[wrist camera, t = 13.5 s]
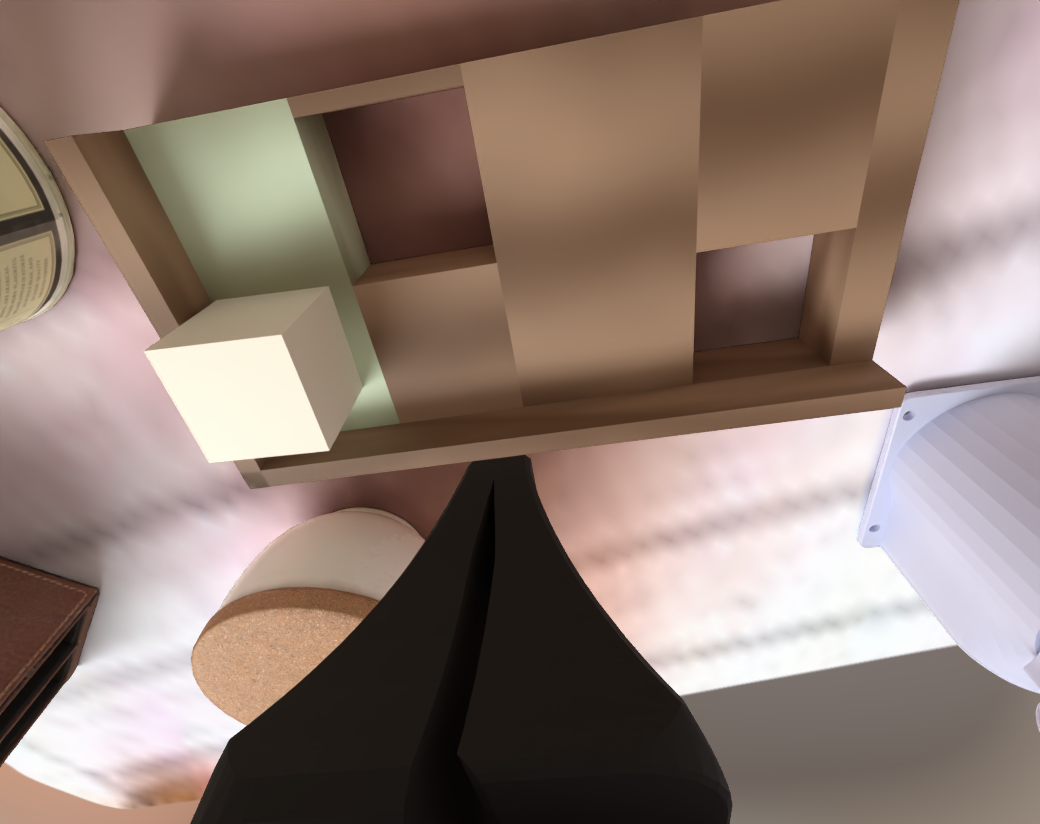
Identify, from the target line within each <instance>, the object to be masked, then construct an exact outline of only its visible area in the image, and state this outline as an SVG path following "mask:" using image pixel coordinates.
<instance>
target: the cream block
mask: <svg viewBox="0 0 1040 824" xmlns="http://www.w3.org/2000/svg"><path fill="white" fill-rule="evenodd" d="M144 352H145V354H146V356H147V358H148V359H149V361H150V363H151V364H152V366H153V368H154V370H155V371H156V373H157V375H158V376H159V378H160V380H161V381H162V383H163V385H164V387H165V388H166V390H167V392H168V393H169V395H170V397H171V399H172V400H173V402H174V404H175V405H176V407H177V409H178V410H179V412H180V414H181V416H182V417H183V419H184V421H185V422H186V424H187V426H188V428H189V429H190V431H191V433H192V434H193V436H194V438H195V439H196V441H197V443H198V445H199V446H200V448H201V450H202V451H203V453H204V455H205V457H206V458H207V460H208V462H209V463H215V462H225V461H235V460H244V459H254V458H264V457H274V456H284V455H293V454H303V453H313V452H323V451H330V449H331V447H332V445H333V443H334V441H335V440H336V438H337V436H338V434H339V432H340V430H341V428H342V426H343V424H344V423H345V421H346V419H347V417H348V415H349V413H350V411H351V409H352V407H353V405H354V404H355V402H356V400H357V398H358V396H359V394H360V392H361V390H362V388H363V386H362V383H361V380H360V377H359V374H358V371H357V368H356V365H355V362H354V359H353V356H352V353H351V350H350V347H349V345H348V342H347V339H346V336H345V333H344V330H343V327H342V324H341V321H340V318H339V315H338V312H337V309H336V306H335V303H334V300H333V298H332V295H331V292H330V289H329V286H325V287H317V288H309V289H301V290H293V291H285V292H277V293H269V294H261V295H253V296H245V297H238V298H230V299H222V300H216V301H215V302H213V303H212V304H210V305H209V306H208V307H206V308H205V309H203V310H202V311H200V312H199V313H198V314H196V315H195V316H193V317H192V318H190V319H189V320H188V321H186V322H185V323H183V324H182V325H180V326H179V327H178V328H176V329H175V330H173V331H172V332H170V333H169V334H168V335H166V336H165V337H163V338H162V339H160V340H159V341H158V342H156V343H155V344H153V345H152V346H150V347H149V348H148V349H146V350H145V351H144Z"/></svg>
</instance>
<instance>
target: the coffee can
mask: <svg viewBox="0 0 1040 824" xmlns="http://www.w3.org/2000/svg"><path fill="white" fill-rule="evenodd" d="M74 257H75V249H74V233H73V228H72V224H71V221H70V217H69V213H68V210H67V207H66V204H65V202H64V199H63V197H62V195H61V192H60V190H59V188H58V186H57V184H56V182H55V180H54V177H53V175H52V173H51V171H50V170H49V169H48V168H47V166H46V164H45V163H44V161H43V160H42V159H41V157H40V156H39V154H38V153H37V151H36V150H35V148H34V147H33V145H32V144H31V143H30V141H29V140H28V138H27V137H26V136H25V134H24V133H23V132H22V131H21V130H20V128H19V127H18V126H17V125H16V124H15V123H14V121H13V120H12V119H11V118H10V117H9V116H8V115H7V113H6V112H5V111H4V110H3V109H2V108H1V107H0V331H2V330H4V329H7V328H9V327H11V326H14V325H16V324H18V323H22V322H25V321H27V320H30V319H33V318H36V317H38V316H40V315H41V314H43V313H44V312H46V311H48V310H50V309H51V308H52V307H53V306H54V305H55V304H56V303H57V302H58V301H59V300H60V298H61V297H62V296H63V294H64V293H65V291H66V289H67V287H68V284H69V282H70V280H71V279H72V276H73V266H74Z"/></svg>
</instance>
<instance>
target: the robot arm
mask: <svg viewBox="0 0 1040 824" xmlns="http://www.w3.org/2000/svg"><path fill="white" fill-rule="evenodd" d="M908 411H909V413H907V412H908ZM905 413H907V414H906V415H904V414H905ZM857 541H858V542H859V544H860V545H861V546H862V547H864V548H871V547H881V548H882V549H883V551H884V552H885V553H886V554H887V556H888V557H889V558H890V560H891V561H892V562H893V563H894V565H895V566H896V567H897V569H898V570H899V571H900V572H901V574H902V575H903V576H904V577H905V579H906V580H907V581H908V583H909V584H910V585H911V586H912V588H913V589H914V590H915V592H916V593H917V594H918V595H919V597H920V598H921V599H922V601H923V602H924V603H925V604H926V606H927V607H928V608H929V610H930V611H931V612H932V613H933V615H934V616H935V617H936V619H937V620H938V621H939V622H940V624H941V625H942V626H943V628H944V629H945V630H946V631H947V633H948V634H949V635H950V636H951V638H952V639H953V640H954V641H955V642H956V643H957V644H958V646H959V647H960V648H961V649H963V651H965V652H966V653H967V654H968V655H969V656H970V657H971V658H973V659H974V660H975V661H977V662H978V663H979V664H981V665H982V666H983V667H985V668H986V669H988V670H990V671H991V672H993V673H994V674H996V675H998V676H999V677H1001V678H1003V679H1005V680H1007V681H1008V682H1010V683H1013V684H1015V685H1017V686H1019V687H1022V688H1024V689H1027V690H1030V691H1033V692H1037V693H1040V376H1034V377H1026V378H1019V379H1011V380H1003V381H995V382H987V383H979V384H972V385H964V386H956V387H948V388H940V389H933V390H925V391H917V392H910V393H906V394H905V396H904V399H903V402H902V406H901V407H899V408H894V410H893V413H892V417H891V420H890V424H889V427H888V431H887V434H886V438H885V441H884V445H883V448H882V452H881V455H880V459H879V462H878V466H877V469H876V473H875V476H874V480H873V483H872V487H871V490H870V494H869V497H868V501H867V504H866V508H865V511H864V515H863V518H862V522H861V525H860V529H859V532H858V536H857ZM1036 721H1037V726H1038V729H1039V732H1040V703H1039V704H1038V705H1037V709H1036ZM731 811H732V800H731V794H730V790H729V787H728V784H727V782H726V779H725V777H724V774H723V772H722V770H721V767H720V766H719V763H718V761H717V759H716V757H715V755H714V753H713V751H712V749H711V747H710V745H709V744H708V742H707V740H706V738H705V736H704V734H703V733H702V731H701V729H700V728H699V726H698V724H697V722H696V721H695V719H694V717H693V716H692V714H691V712H690V711H689V709H688V707H687V705H686V704H685V702H684V701H683V699H682V698H681V697H680V696H679V695H678V694H677V693H676V692H675V691H674V690H673V689H672V688H671V687H670V686H669V685H668V684H667V683H666V682H665V681H664V680H663V679H662V677H661V676H660V675H659V674H658V673H657V672H656V671H655V670H654V669H653V668H652V667H651V666H650V664H649V663H648V662H647V661H646V660H645V659H644V658H643V657H642V655H641V654H640V653H639V652H638V651H637V650H636V648H635V647H634V646H633V645H632V644H631V643H630V642H629V640H628V639H627V638H626V637H625V636H624V634H623V633H622V632H621V630H620V629H619V628H618V627H617V625H616V624H615V623H614V622H613V620H612V619H611V618H610V616H609V615H608V614H607V613H606V611H605V610H604V609H603V607H602V606H601V605H600V604H599V602H598V601H597V600H596V598H595V597H594V595H593V594H592V592H591V591H590V589H589V588H588V587H587V585H586V584H585V582H584V581H583V579H582V578H581V576H580V575H579V573H578V571H577V570H576V568H575V567H574V565H573V564H572V562H571V560H570V559H569V557H568V555H567V553H566V552H565V550H564V548H563V546H562V545H561V543H560V541H559V539H558V537H557V535H556V533H555V531H554V529H553V527H552V525H551V523H550V521H549V519H548V517H547V515H546V512H545V510H544V508H543V506H542V503H541V501H540V498H539V496H538V493H537V490H536V484H535V479H534V474H533V469H532V463H531V459H530V458H529V457H527V456H526V455H521V456H513V457H505V458H497V459H489V460H481V461H473V462H472V463H471V464H470V465H469V466H468V468H467V470H466V472H465V474H464V476H463V478H462V480H461V482H460V483H459V485H458V487H457V489H456V491H455V493H454V494H453V496H452V498H451V500H450V502H449V503H448V505H447V507H446V508H445V510H444V512H443V513H442V515H441V517H440V518H439V520H438V522H437V523H436V525H435V527H434V528H433V530H432V531H431V533H430V534H429V536H428V537H427V539H426V540H425V542H424V543H423V545H422V546H421V548H420V549H419V550H418V552H417V553H416V555H415V556H414V558H413V559H412V561H411V562H410V563H409V565H408V566H407V567H406V569H405V570H404V571H403V573H402V574H401V575H400V577H399V578H398V579H397V581H396V582H395V583H394V584H393V586H392V587H391V588H390V589H389V590H388V592H387V593H386V594H385V595H384V597H383V598H382V599H381V600H380V601H379V603H378V604H377V605H376V606H375V607H374V608H373V609H372V610H371V611H370V613H369V614H368V615H367V616H366V617H365V618H364V619H363V620H362V621H361V623H360V624H359V625H358V626H357V627H356V628H355V629H354V630H353V631H352V632H351V633H350V634H349V635H348V636H347V638H346V639H345V640H344V641H343V642H342V643H341V644H340V645H339V646H338V647H336V648H335V649H334V650H333V651H332V652H331V653H330V654H329V655H328V656H327V657H326V658H325V659H324V660H323V661H322V662H321V663H320V664H319V665H318V666H316V667H315V668H314V669H313V670H312V671H311V672H310V673H309V674H308V675H307V676H306V677H304V678H303V679H302V680H301V681H300V682H299V683H298V684H297V685H295V686H294V687H293V688H292V689H291V690H290V691H289V692H287V693H286V694H285V695H284V696H283V697H281V698H280V699H279V700H278V701H277V702H275V703H274V704H273V705H272V706H270V707H269V708H268V709H267V710H265V711H264V712H263V713H262V714H261V715H259V716H258V717H257V718H256V719H254V720H253V721H252V722H251V723H250V724H248V725H247V726H246V727H245V728H243V729H242V730H241V731H240V732H238V733H237V734H236V735H234V736H233V737H232V738H231V739H230V740H229V741H228V743H227V745H226V747H225V749H224V751H223V753H222V755H221V757H220V759H219V761H218V763H217V765H216V767H215V769H214V771H213V773H212V775H211V778H210V780H209V782H208V785H207V787H206V789H205V791H204V794H203V796H202V798H201V801H200V803H199V805H198V808H197V810H196V812H195V814H194V817H193V819H192V821H191V823H190V824H730V817H731Z"/></svg>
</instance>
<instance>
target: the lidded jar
mask: <svg viewBox="0 0 1040 824" xmlns="http://www.w3.org/2000/svg"><path fill="white" fill-rule="evenodd" d="M424 542H425V540H424V539H423V538H422V537H421V536H420V534H419V533H418V531H417V530H416V529H415V528H414V527H413V526H412V525H410V524H409V523H408V522H407V521H405V520H404V519H402V518H400V517H399V516H396V515H394V514H392V513H390V512H387V511H383V510H380V509H375V508H367V507H352V508H346V509H342V510H338V511H335V512H333V513H328V514H324V515H320V516H317V517H313V518H310V519H308V520H306V521H304V522H302V523H300V524H298V525H296V526H293V527H291V528H290V529H288V530H287V531H285V532H284V533H283V534H281V535H280V536H279V537H277V538H276V539H274V540H273V541H272V542H270V543H269V544H268V545H267V546H266V547H265V548H264V549H263V550H262V551H261V552H260V553H259V554H258V556H257V557H256V558H255V559H254V560H253V561H252V562H251V563H250V564H249V565H248V567H247V568H246V569H245V570H244V572H243V573H242V574H241V576H240V577H239V578H238V579H237V581H236V582H235V584H234V585H233V587H232V588H231V590H230V591H229V593H228V595H227V596H226V598H225V599H224V601H223V603H222V605H221V606H220V608H219V610H218V612H217V613H216V614H215V615H214V616H213V617H212V618H211V619H210V620H209V622H208V623H207V624H206V626H205V628H204V629H203V631H202V633H201V634H200V636H199V638H198V640H197V642H196V644H195V646H194V647H193V651H192V657H191V663H192V670H193V675H194V678H195V680H196V682H197V684H198V686H199V687H200V689H201V690H202V692H203V693H204V695H205V696H206V697H207V698H208V699H209V700H210V701H211V702H212V703H213V704H214V705H215V706H217V707H218V708H219V709H221V710H222V711H223V712H225V713H226V714H227V715H229V716H230V717H232V718H234V719H236V720H237V721H239V722H241V723H243V724H245V725H248V724H250V723H251V722H252V721H253V720H254V719H256V718H257V717H258V716H259V715H261V714H262V713H263V712H264V711H265V710H267V709H268V708H269V707H270V706H272V705H273V704H274V703H275V702H277V701H278V700H279V699H280V698H281V697H283V696H284V695H285V694H286V693H287V692H289V691H290V690H291V689H292V688H293V687H294V686H295V685H297V684H298V683H299V682H300V681H301V680H302V679H303V678H304V677H306V676H307V675H308V674H309V673H310V672H311V671H312V670H313V669H314V668H315V667H316V666H318V665H319V664H320V663H321V662H322V661H323V660H324V659H325V658H326V657H327V656H328V655H329V654H330V653H331V652H332V651H333V650H334V649H335V648H336V647H338V646H339V645H340V644H341V643H342V642H343V641H344V640H345V639H346V638H347V636H348V635H349V634H350V633H351V632H352V631H353V630H354V629H355V628H356V627H357V626H358V625H359V624H360V623H361V621H362V620H363V619H364V618H365V617H366V616H367V615H368V614H369V613H370V611H371V610H372V609H373V608H374V607H375V606H376V605H377V604H378V603H379V601H380V600H381V599H382V598H383V597H384V595H385V594H386V593H387V592H388V590H389V589H390V588H391V587H392V586H393V584H394V583H395V582H396V581H397V579H398V578H399V577H400V575H401V574H402V573H403V571H404V570H405V569H406V567H407V566H408V565H409V563H410V562H411V561H412V559H413V558H414V556H415V555H416V553H417V552H418V550H419V549H420V548H421V546H422V545H423V543H424Z"/></svg>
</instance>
